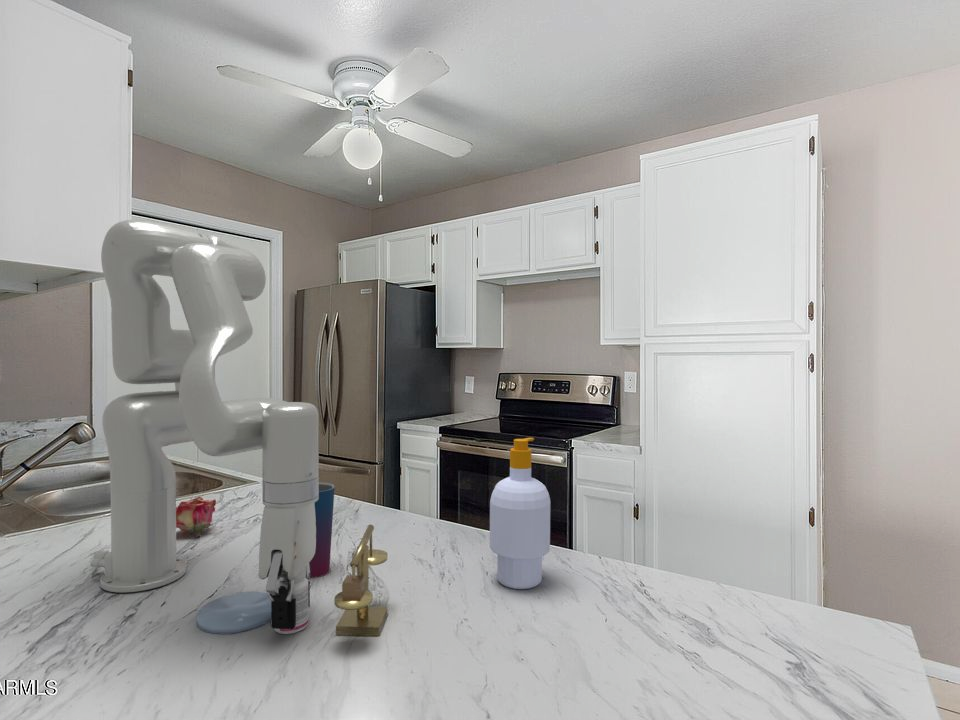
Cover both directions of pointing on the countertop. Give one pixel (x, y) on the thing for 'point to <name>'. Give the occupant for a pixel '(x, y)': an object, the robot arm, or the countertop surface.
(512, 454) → the soap bottle
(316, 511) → the cup
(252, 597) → the saucer
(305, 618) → the pill bottle
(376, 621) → the balance
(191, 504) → the flower
